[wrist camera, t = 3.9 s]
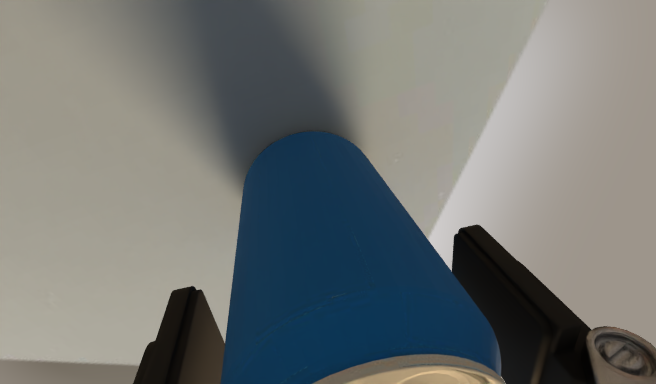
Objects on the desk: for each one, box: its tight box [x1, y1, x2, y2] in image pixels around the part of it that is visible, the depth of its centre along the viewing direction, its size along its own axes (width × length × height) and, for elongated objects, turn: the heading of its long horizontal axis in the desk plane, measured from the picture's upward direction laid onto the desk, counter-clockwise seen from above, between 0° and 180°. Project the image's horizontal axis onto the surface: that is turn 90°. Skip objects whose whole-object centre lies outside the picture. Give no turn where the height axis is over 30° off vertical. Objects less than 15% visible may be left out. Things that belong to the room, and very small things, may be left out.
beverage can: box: [221, 131, 505, 384], centre depth 12 cm, size 6×6×12 cm
